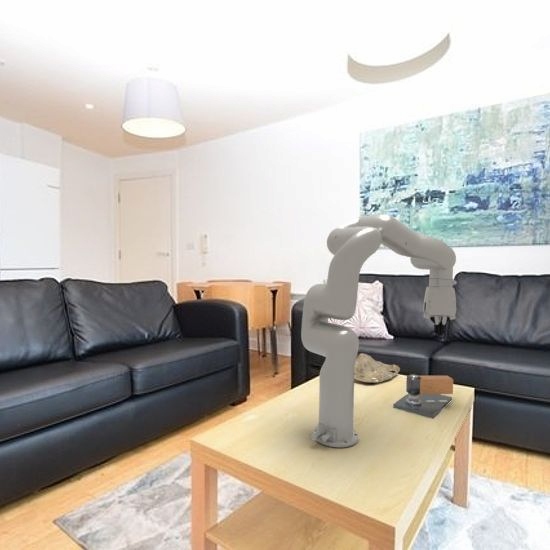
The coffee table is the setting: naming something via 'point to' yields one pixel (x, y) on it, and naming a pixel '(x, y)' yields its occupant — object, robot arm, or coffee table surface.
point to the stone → (373, 369)
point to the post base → (423, 404)
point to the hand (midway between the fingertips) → (438, 335)
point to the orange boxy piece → (429, 385)
